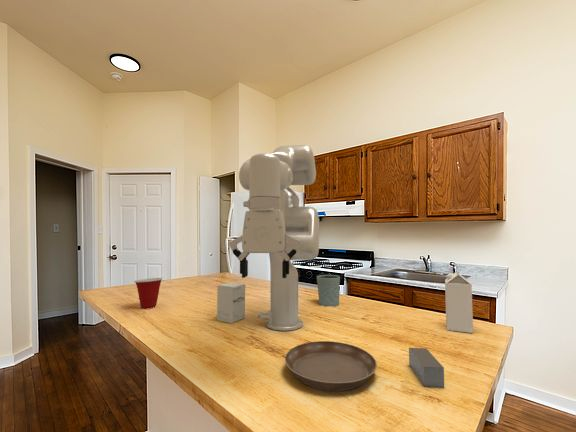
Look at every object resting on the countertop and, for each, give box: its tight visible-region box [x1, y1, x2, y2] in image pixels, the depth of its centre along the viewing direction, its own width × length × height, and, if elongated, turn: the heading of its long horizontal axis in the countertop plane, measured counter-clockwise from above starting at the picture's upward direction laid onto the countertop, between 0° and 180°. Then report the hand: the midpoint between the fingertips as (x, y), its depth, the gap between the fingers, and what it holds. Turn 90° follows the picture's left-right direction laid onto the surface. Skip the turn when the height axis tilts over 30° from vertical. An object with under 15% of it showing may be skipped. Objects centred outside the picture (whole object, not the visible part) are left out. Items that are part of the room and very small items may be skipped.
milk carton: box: [444, 268, 474, 334], centre depth 98 cm, size 7×7×19 cm
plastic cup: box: [134, 277, 163, 310], centre depth 127 cm, size 11×11×12 cm
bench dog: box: [408, 347, 445, 388], centre depth 66 cm, size 4×10×4 cm, turn 174°
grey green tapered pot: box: [316, 274, 341, 307], centre depth 130 cm, size 10×10×12 cm
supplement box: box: [216, 282, 246, 324], centre depth 109 cm, size 7×7×13 cm
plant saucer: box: [284, 340, 378, 392], centre depth 68 cm, size 21×21×3 cm
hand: (264, 277), depth 71 cm, fingers open, 9 cm apart
